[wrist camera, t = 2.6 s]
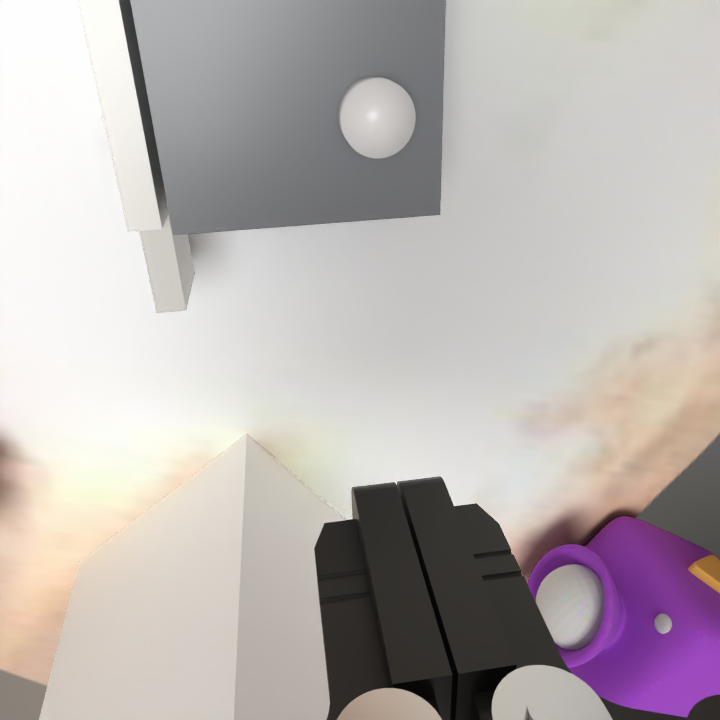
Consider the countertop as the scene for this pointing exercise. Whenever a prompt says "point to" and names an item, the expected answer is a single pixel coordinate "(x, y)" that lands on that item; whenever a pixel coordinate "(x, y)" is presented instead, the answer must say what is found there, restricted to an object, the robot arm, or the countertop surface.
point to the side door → (136, 148)
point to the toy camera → (635, 615)
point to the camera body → (294, 109)
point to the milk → (201, 605)
